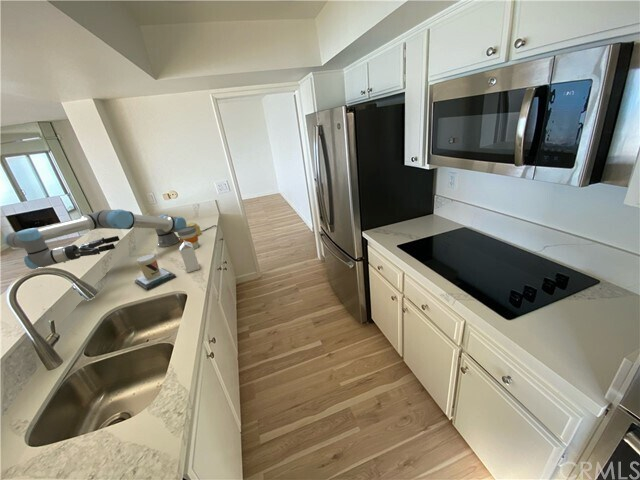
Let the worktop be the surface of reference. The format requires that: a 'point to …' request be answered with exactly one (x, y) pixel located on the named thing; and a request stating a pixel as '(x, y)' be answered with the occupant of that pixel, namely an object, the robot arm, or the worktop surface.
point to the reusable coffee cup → (189, 235)
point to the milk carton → (189, 256)
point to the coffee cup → (149, 266)
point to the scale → (155, 279)
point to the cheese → (195, 227)
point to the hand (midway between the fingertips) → (116, 241)
